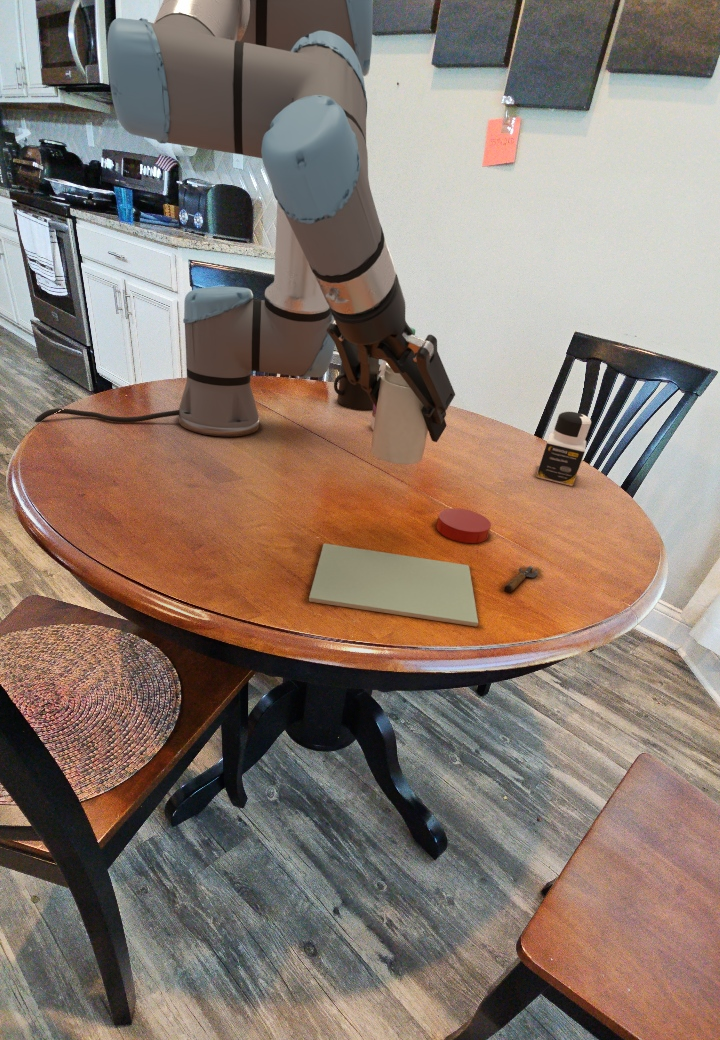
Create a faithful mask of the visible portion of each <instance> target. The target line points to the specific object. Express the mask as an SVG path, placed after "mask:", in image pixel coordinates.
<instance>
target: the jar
mask: <svg viewBox="0 0 720 1040" xmlns="http://www.w3.org/2000/svg"><path fill="white" fill-rule="evenodd" d="M384 371H385V374H384V375H383V376H381V380H380V387H379V394H378V401H377V408H376V415H375V422H374V429H373V430H372V436H371V443H370V453H371V455H372V456H373V457H375V458H376V459H378V460H381V461H383V462H387V463H390V464H396V465H405V466H406V465H407V466H408V465H409V466H410V465H416V464H419V463H421V462H423V458H424V454H425V449H426V443H427V439H428V438H427V437H428V434H429V431H428V428H427V426H426V423H425V420H424V417H423V414H422V412H421V410H422V408H423V406H424V405H423V404H422V403H421V401H420V400H419V399H418V397H417V396H416V395H415V393H414V392H413V391H412V389H411V388H410V387H409V385H408V384H407V383H406V381H405V380H404V379H403V377H402V376H401V374H400V373H394V372H393V370H392V369H391V368H390V366H389V365H388V364H387V363H386V367H385V369H384Z"/></svg>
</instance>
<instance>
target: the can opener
mask: <svg viewBox="0 0 720 1040" xmlns="http://www.w3.org/2000/svg"><path fill="white" fill-rule="evenodd" d="M533 570H534V571H533ZM518 572H519V573H518V574H517V575H516V577H514V578H512V579H511V580H509V581H508V583H506V584H505V586H504V588H503V589H504V591H505V593H511V592H513V591H514V590H515V589H516V588H517V587H519V585H520V584H521V583H522V582H523V581H524V580H525V579H526V578H527V577H528V578H531V579H533V578H536V577H537V576H538V569H537V568H536V569H534V566H532V565H529V566H528V567H527V569H525V570H524V571H523V568H522V567H519V568H518Z"/></svg>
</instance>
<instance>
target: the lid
mask: <svg viewBox="0 0 720 1040" xmlns="http://www.w3.org/2000/svg"><path fill="white" fill-rule="evenodd" d="M491 526H492V523H491V521H490V520H489V519H488V518H487V517H486V516H484V515H482V514H480V513H478V512H476V511H472V510H470V509H469V510H468V509H464V508H457V507H455V508H452V507H451V508H445V509H442V510H441V511H440V512H439V513H438V516H437V519H436V524H435V527H436V530H437V531H438V533H439V534H441V535H442V536H443V537H445V538H447V539H449V540H451V541H455V542H459V543H463V544H480V543H483V542H484V541H487V539H488V538H489V537H488V536H489V534H490V530H491Z"/></svg>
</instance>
